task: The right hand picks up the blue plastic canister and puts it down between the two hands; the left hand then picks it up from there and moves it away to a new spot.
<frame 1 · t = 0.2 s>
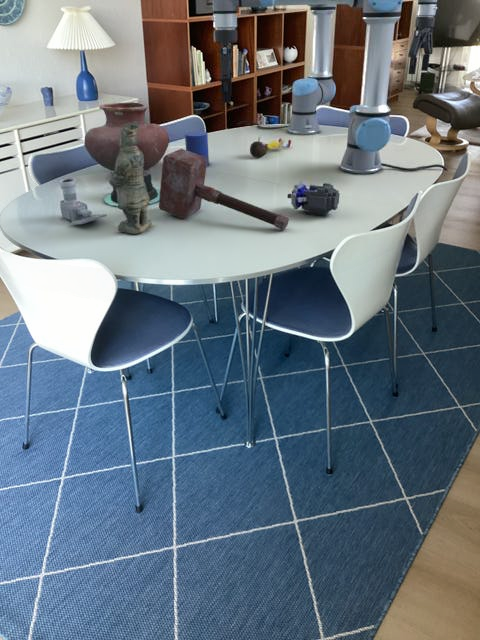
left hand: (418, 72, 240), 28 cm above the table, tool pointing down, fingers open, 13 cm apart
right hand: (227, 99, 189), 28 cm above the table, tool pointing down, fingers open, 13 cm apart
canister: (198, 165, 222), on the table
toy: (312, 213, 171), on the table
figurine: (270, 152, 236), on the table
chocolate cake: (134, 197, 187), on the table
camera: (81, 221, 168), on the table
clay pot: (131, 173, 213), on the table
sledgehammer: (224, 220, 166), on the table
statue: (134, 229, 162), on the table
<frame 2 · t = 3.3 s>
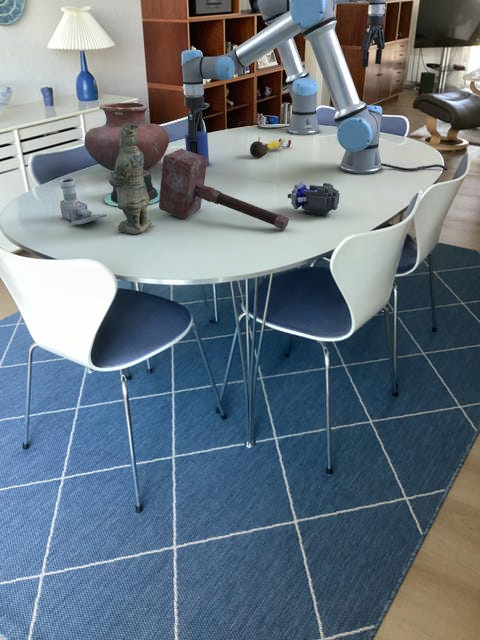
left hand: (371, 65, 268), 28 cm above the table, tool pointing down, fingers open, 13 cm apart
right hand: (197, 156, 220), 3 cm above the table, tool pointing down, fingers closed on canister, 9 cm apart
canister: (198, 165, 222), on the table, touching right hand
everything else where it was.
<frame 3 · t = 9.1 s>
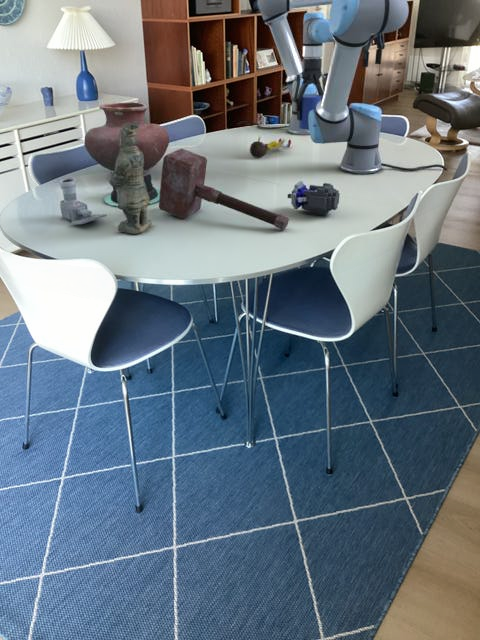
left hand: (371, 65, 268), 28 cm above the table, tool pointing down, fingers open, 13 cm apart
right hand: (309, 118, 226), 14 cm above the table, tool pointing down, fingers closed on canister, 9 cm apart
canister: (309, 127, 228), point 11 cm above the table, touching right hand
everything else where it was.
when the right hand's fingers open (5 cm above the table, at t = 15.0 s): canister drops 1 cm, on the table.
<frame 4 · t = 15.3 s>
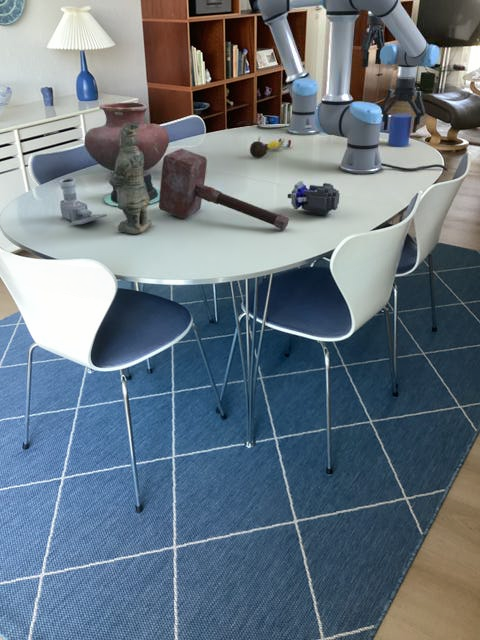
left hand: (371, 65, 268), 28 cm above the table, tool pointing down, fingers open, 13 cm apart
right hand: (399, 131, 241), 6 cm above the table, tool pointing down, fingers open, 12 cm apart
canister: (398, 144, 244), on the table
everything else where it was.
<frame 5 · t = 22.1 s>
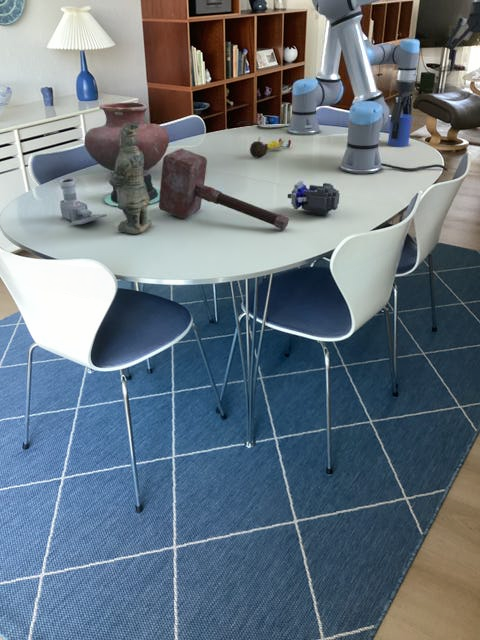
left hand: (399, 136, 243), 3 cm above the table, tool pointing down, fingers closed on canister, 9 cm apart
right hand: (471, 71, 194), 34 cm above the table, tool pointing down, fingers open, 13 cm apart
canister: (398, 144, 244), on the table, touching left hand
everything else where it was.
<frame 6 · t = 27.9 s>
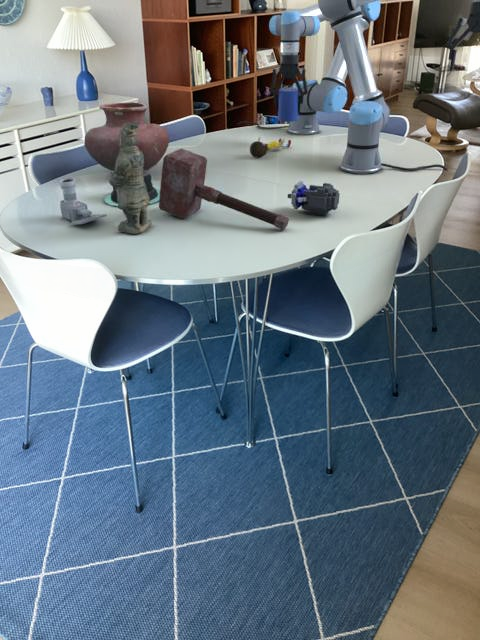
left hand: (288, 111, 239), 15 cm above the table, tool pointing down, fingers closed on canister, 9 cm apart
right hand: (471, 71, 194), 34 cm above the table, tool pointing down, fingers open, 13 cm apart
canister: (288, 119, 241), point 11 cm above the table, touching left hand
everything else where it was.
when the left hand's fingers open (5 cm above the table, at t = 33.9 s): canister drops 1 cm, on the table.
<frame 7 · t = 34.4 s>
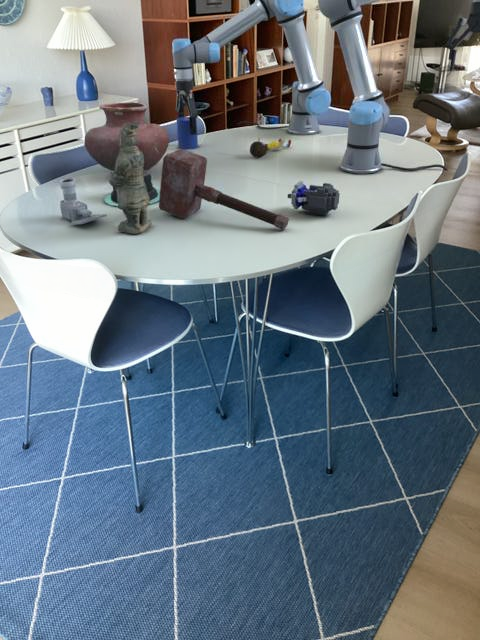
left hand: (187, 131, 245), 7 cm above the table, tool pointing down, fingers open, 13 cm apart
right hand: (471, 71, 194), 34 cm above the table, tool pointing down, fingers open, 13 cm apart
canister: (188, 147, 248), on the table
everything else where it was.
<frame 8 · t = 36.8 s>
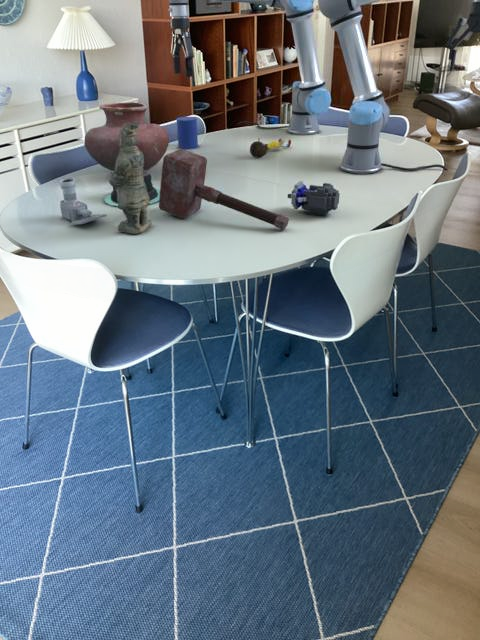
left hand: (183, 75, 233), 30 cm above the table, tool pointing down, fingers open, 13 cm apart
right hand: (471, 71, 194), 34 cm above the table, tool pointing down, fingers open, 13 cm apart
nothing on the table moved.
at the end: canister inside the target area (0.0 cm from its centre), on the table; canister tilted 0°; the two hands never held the canister at the same time; the left hand is holding nothing; the right hand is holding nothing; canister at rest at the end (0.0 cm/s) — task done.
